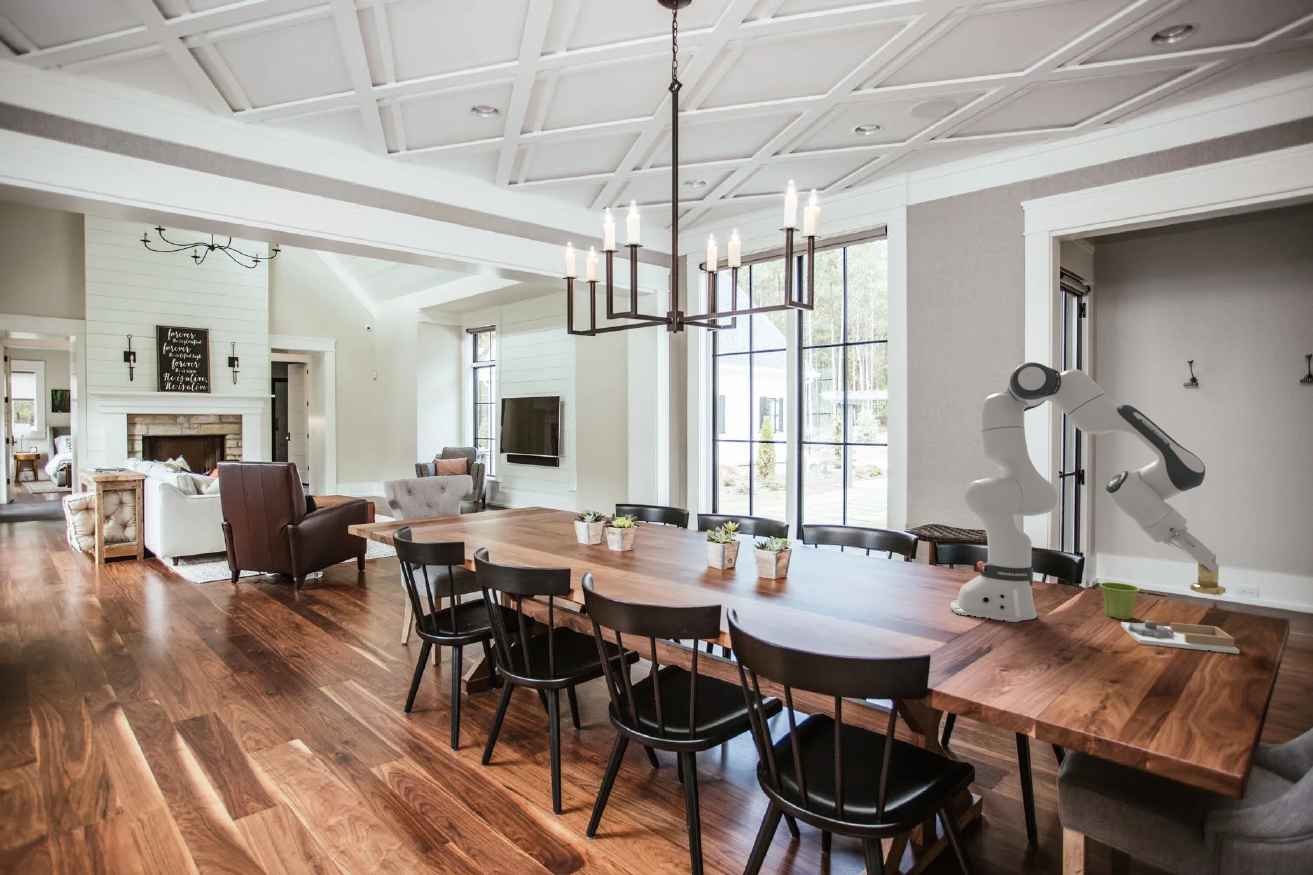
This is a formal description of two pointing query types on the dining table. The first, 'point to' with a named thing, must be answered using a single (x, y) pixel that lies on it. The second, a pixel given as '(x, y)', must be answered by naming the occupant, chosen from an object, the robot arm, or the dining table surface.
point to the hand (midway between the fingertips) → (1210, 567)
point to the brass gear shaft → (1208, 581)
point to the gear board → (1181, 636)
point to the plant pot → (1119, 599)
